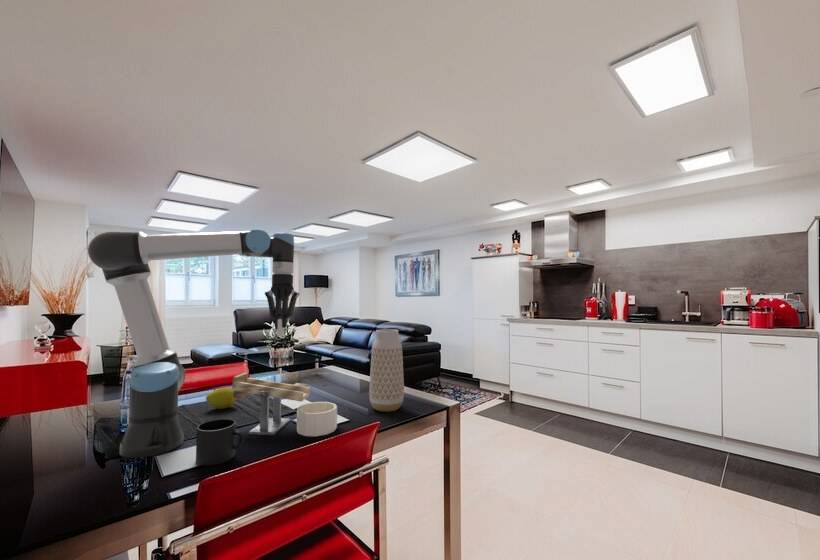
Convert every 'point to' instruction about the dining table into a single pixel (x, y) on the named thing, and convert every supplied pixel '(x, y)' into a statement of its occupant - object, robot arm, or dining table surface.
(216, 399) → the lemon
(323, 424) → the pot
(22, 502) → the dining table surface
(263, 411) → the stand
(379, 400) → the vase
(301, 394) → the lever
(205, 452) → the mug
